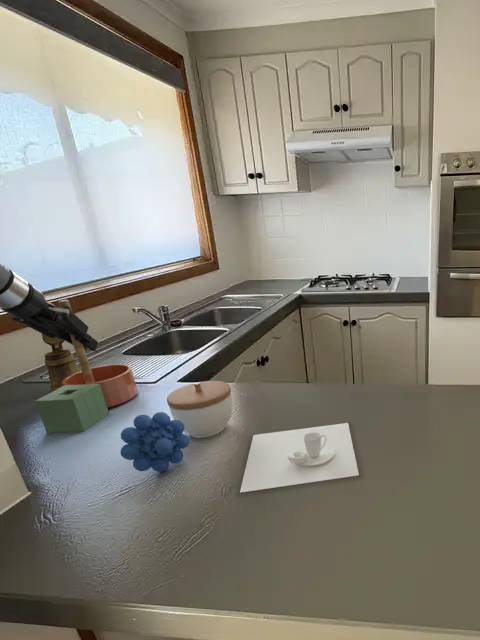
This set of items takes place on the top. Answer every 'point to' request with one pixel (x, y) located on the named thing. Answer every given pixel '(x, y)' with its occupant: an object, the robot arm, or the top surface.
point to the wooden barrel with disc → (58, 362)
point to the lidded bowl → (202, 407)
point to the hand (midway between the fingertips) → (90, 346)
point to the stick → (80, 352)
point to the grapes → (154, 442)
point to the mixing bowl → (109, 382)
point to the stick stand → (72, 408)
